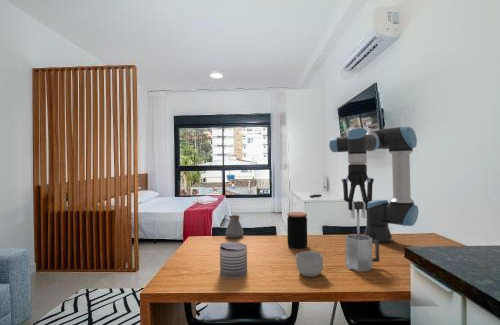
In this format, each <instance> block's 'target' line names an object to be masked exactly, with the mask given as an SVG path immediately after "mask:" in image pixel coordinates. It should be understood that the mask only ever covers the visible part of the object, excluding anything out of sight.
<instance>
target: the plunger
mask: <svg viewBox="0 0 500 325" xmlns="http://www.w3.org/2000/svg"><path fill="white" fill-rule="evenodd" d="M353 203H354V209H355V210H356V234H357V240H360V235H361V232H360V210H361V209H363V200H362V201H361V200H360V201H359V200H353Z"/></svg>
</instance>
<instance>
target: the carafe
mask: <svg viewBox="0 0 500 325" xmlns="http://www.w3.org/2000/svg"><path fill="white" fill-rule="evenodd" d="M344 238H345V243H344V244H345V246H344V247H345V267H346V268H347V269H348V270H351V271H353V272H354V271H355V272H361V273H363V272H364V273H365V272H368V273H369V272H370V271H372V270H373V263H379V262H380V243H379V241H378V240H372V238H371V237H369V236H366V235H364V234H360V240H357V233H356V234H355V233H353V234H347V235H345V236H344ZM373 244H374V249H375V250H374V252H375V254H374V256H375V257H374V258H373Z"/></svg>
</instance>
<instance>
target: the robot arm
mask: <svg viewBox="0 0 500 325" xmlns="http://www.w3.org/2000/svg"><path fill="white" fill-rule="evenodd" d="M417 143H418V138H417V135H416V132H415V130H414V128H412V127H411V126H399V127H388V128H381V129H376V130H373V131H369V132H367V129H366V128H365V127H364V128H363V127H356V128H355V127H354V128H349V129H348V131H347V136H336V137H331V139H330V140H329V144H328V145H329V149H330V151H331V152H332V153H347V158H348V159H347V162H348V167H347V171H348V174H347V177H345V178H341V183H342V186H343V187H342V189H343V201H345V202H347V203H348V210H349V211H350V218H352V219H356V218H355V212H356V211H355V210H356V209H354V203H353V201H354V196H355V192H356V188H357V186H359V189H360V194H361V199H362V202H363V209H360V211H361V212H360V213H361V217H360V218H363V219H366V225H365V226H366V227H365V229H364V233H363V235H366V236H369V237H371V238H372V240H378V241H379V244H380V243H381V244H385V243H391V242H392V241H393V237H392V234H391V232H390V229H389V224H392V225H398V226H403V227H412V226H414V225H415V224H416V222H417V220H418V217H419V206H418V205H416V204H415V201H414V200H413V199H412V198H411V196H412V195H411V194H412V193H411V159H410V157H411V154H412V152H413V151H414V150H413V149H414V148H417ZM377 149H379V150H388V153H389V154H390V155H391V164H392V166H391V169H392V170H391V171H392V198H391V199H390V200H389V201H388V199H375V200H374V199H373V185H374V184H373V183H374V181H375V179H374V178H372V177H369V176H368V173H367V172H368V169H367V168H368V166H367V165H368V164H367V162H368V161H367V157H368V156H367V152H373V151H376V150H377ZM349 182H350V188H349V187H348V186H349V185H348V183H349ZM366 182H367V186H366V185H365V183H366ZM366 187H367V188H366ZM366 189H367V190H366Z"/></svg>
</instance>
